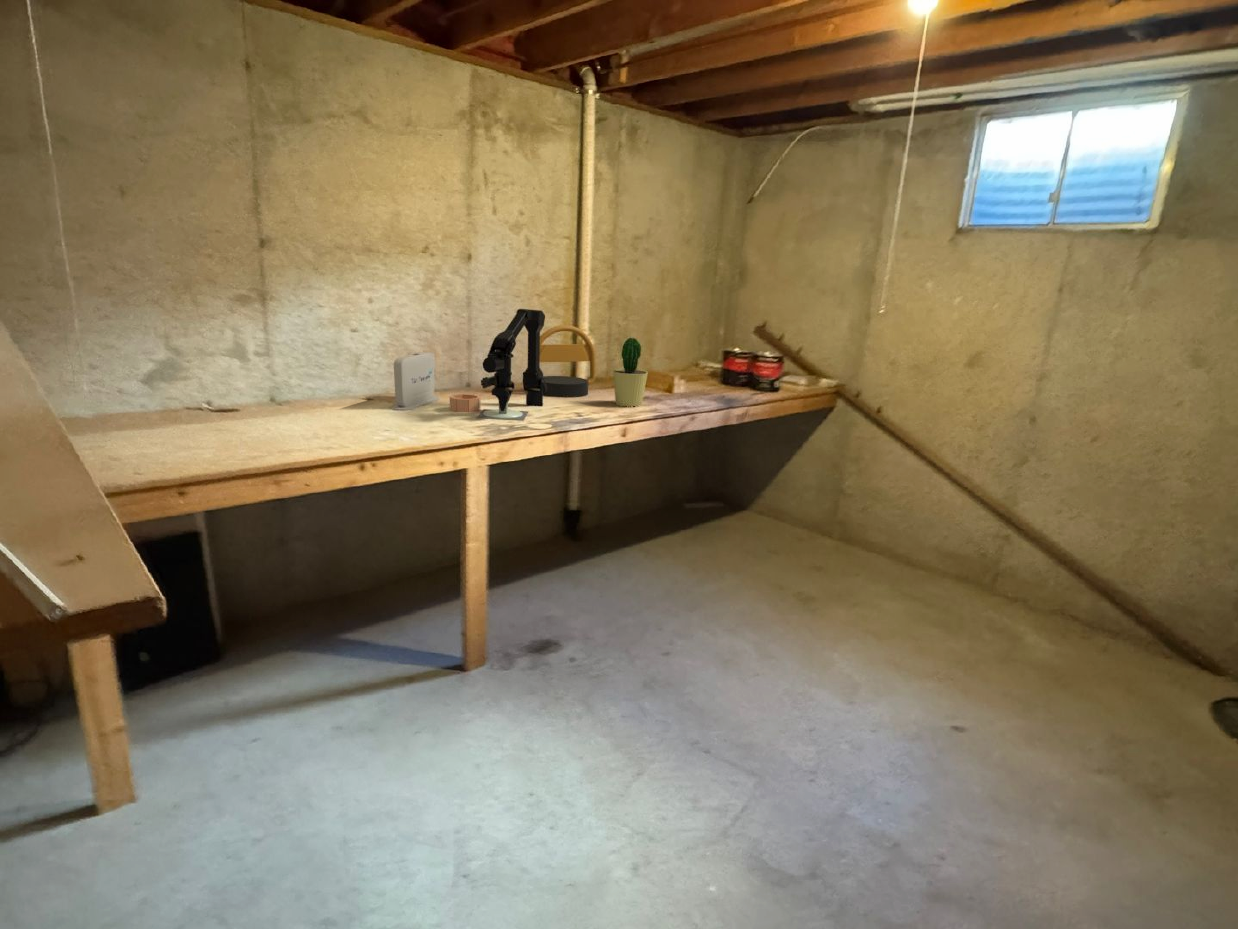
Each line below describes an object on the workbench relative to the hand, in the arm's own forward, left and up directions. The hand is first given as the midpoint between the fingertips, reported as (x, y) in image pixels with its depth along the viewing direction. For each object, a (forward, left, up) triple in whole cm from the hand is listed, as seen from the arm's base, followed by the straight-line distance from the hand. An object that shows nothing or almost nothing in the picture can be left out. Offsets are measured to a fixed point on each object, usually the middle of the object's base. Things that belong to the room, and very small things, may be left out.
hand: (503, 410), depth 266 cm
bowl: (+16, -7, -2) cm, 18 cm away
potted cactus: (-50, -37, -2) cm, 62 cm away
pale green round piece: (0, 0, -2) cm, 2 cm away
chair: (-19, -59, -3) cm, 62 cm away
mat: (0, 0, -2) cm, 2 cm away
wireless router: (+38, -16, -3) cm, 41 cm away
